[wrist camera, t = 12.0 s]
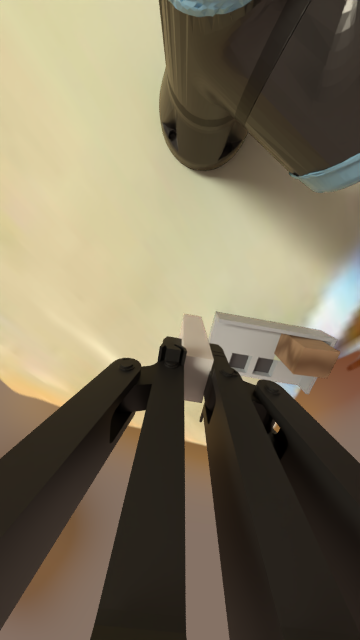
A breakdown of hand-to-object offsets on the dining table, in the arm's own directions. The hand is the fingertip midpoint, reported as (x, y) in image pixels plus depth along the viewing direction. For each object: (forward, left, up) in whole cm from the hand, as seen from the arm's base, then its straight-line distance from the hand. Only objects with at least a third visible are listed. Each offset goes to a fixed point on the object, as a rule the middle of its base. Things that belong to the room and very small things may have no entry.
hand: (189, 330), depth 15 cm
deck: (+13, +21, -26) cm, 36 cm away
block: (+9, +27, -24) cm, 38 cm away
